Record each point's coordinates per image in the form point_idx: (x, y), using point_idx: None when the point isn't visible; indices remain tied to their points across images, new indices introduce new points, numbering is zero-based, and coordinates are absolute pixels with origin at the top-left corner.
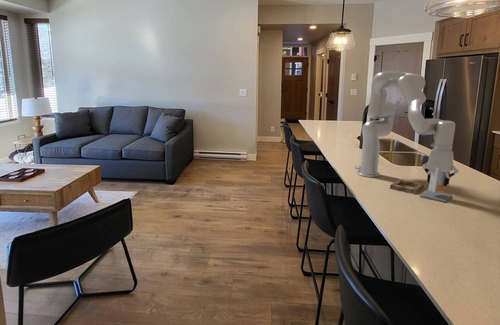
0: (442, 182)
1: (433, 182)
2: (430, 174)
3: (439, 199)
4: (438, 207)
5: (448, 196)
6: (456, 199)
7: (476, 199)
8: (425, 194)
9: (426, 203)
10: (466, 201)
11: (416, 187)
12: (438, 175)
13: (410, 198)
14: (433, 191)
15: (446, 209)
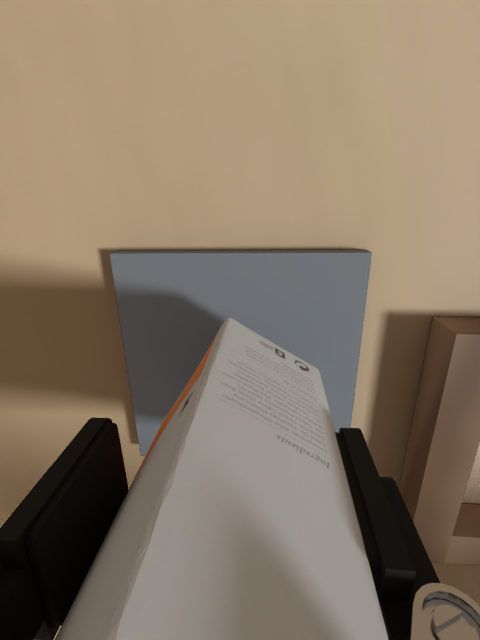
0: (137, 476)
1: (259, 408)
2: (386, 615)
3: (167, 263)
4: (93, 12)
5: (146, 412)
6: (94, 411)
7: (10, 495)
8: (330, 330)
9: (244, 57)
10: (26, 412)
11: (461, 436)
12: (124, 555)
13: (456, 105)
14: (244, 328)
15: (7, 13)
